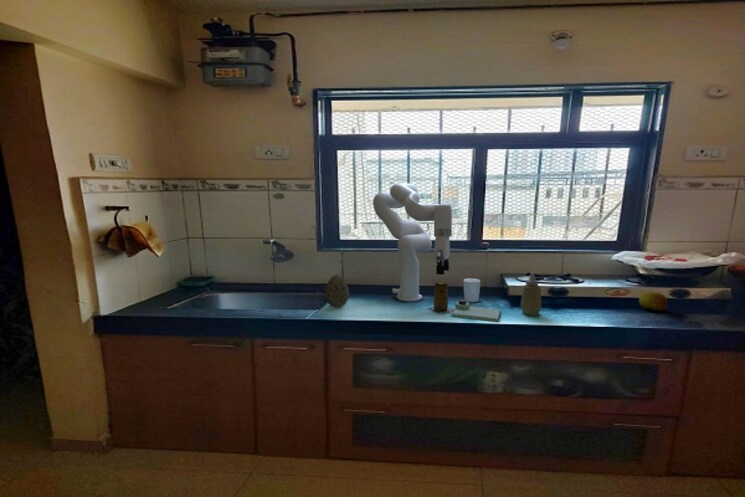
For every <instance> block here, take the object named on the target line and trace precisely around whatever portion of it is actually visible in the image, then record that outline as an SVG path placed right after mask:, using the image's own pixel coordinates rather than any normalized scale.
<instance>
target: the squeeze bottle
mask: <svg viewBox="0 0 745 497" xmlns="http://www.w3.org/2000/svg"><path fill="white" fill-rule="evenodd" d="M541 290H542V289H541V286H540V285H539V280H537V279H536V275H535V272H534V271H530V274H529V277H528V279H526V280H525V284H524V285H523V288H522V292H521V293H522V294H521V300H520V307H521V311H522V314H523V315H526V316H534V317H535V316H538V315H539V314H540V311H541V309H542V307H543V306H542V291H541Z"/></svg>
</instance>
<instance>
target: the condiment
mask: <svg viewBox="0 0 745 497" xmlns="http://www.w3.org/2000/svg"><path fill="white" fill-rule="evenodd" d="M448 307H449V289H448V283H447V282H444V281H437V282H435V283H434V288H433V307H430V308H429V309H431V310H433V311H435V312H437V313H440V314H445V313H450V312H451V313H453V312H454V310H455V309H454V310H453V309H451V308H448Z"/></svg>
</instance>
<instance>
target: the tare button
mask: <svg viewBox="0 0 745 497" xmlns="http://www.w3.org/2000/svg"><path fill="white" fill-rule="evenodd" d="M458 302H459V304H460V305H466V302H467V301H466V300H464V299H459V300H458Z"/></svg>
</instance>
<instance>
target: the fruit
mask: <svg viewBox="0 0 745 497" xmlns="http://www.w3.org/2000/svg"><path fill="white" fill-rule="evenodd" d="M638 303H639V305H640V307H641V308H642V309H645V310H651V311H656V312H657V311H659V312H661V311H664V310H666V309H667V307H668V299H667V296H666V295H665V294H663V293H661V292H655V291H643V292H642V293H641V294H640V295H639V298H638Z"/></svg>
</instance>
